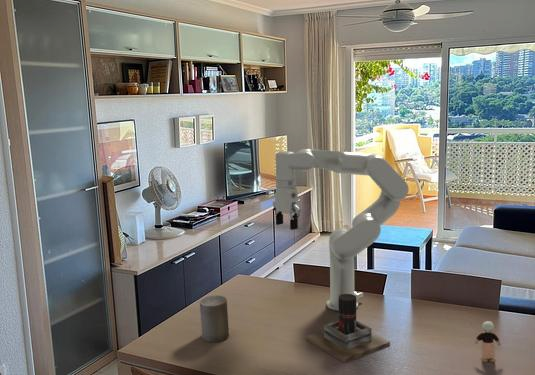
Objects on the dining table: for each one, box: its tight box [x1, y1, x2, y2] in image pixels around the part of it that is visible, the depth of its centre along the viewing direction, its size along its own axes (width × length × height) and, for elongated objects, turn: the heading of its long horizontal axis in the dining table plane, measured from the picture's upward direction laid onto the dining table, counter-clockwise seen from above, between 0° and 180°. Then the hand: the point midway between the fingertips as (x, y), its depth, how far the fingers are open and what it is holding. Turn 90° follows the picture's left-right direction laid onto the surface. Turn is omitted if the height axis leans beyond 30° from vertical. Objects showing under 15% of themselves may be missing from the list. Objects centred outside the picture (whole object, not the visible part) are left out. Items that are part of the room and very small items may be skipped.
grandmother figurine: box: [474, 320, 502, 363], centre depth 163 cm, size 8×4×13 cm, turn 92°
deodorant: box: [338, 294, 357, 341], centre depth 178 cm, size 6×6×15 cm
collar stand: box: [306, 319, 391, 363], centre depth 179 cm, size 20×20×6 cm
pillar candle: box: [199, 294, 230, 343], centre depth 185 cm, size 10×10×15 cm
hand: (286, 226), depth 204 cm, fingers open, 9 cm apart
